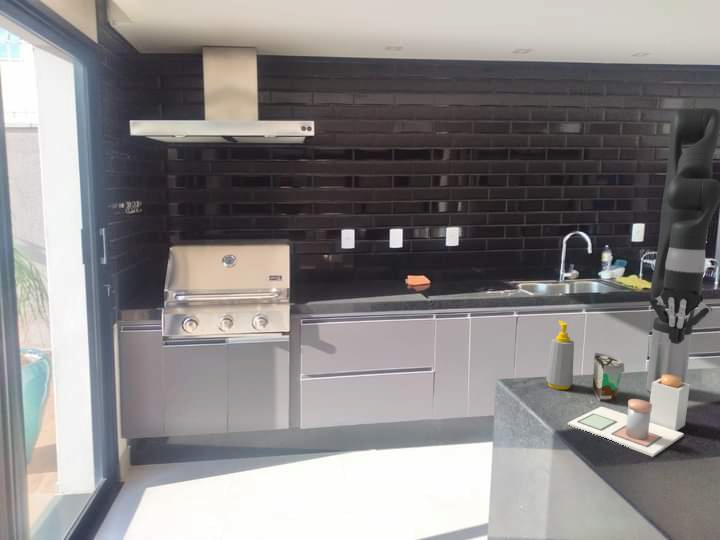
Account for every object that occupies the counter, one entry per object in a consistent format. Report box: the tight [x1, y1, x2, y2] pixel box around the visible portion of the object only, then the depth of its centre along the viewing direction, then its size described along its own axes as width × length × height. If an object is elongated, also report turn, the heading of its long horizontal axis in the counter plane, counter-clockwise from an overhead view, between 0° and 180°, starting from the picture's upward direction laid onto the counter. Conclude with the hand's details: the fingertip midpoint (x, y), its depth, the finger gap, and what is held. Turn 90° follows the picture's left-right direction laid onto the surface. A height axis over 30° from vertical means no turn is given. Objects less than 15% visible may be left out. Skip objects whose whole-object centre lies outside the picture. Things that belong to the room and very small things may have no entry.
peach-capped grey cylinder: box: [626, 398, 652, 440], centre depth 123 cm, size 5×5×8 cm
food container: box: [592, 352, 625, 403], centre depth 147 cm, size 12×6×10 cm, turn 168°
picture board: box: [567, 406, 684, 458], centre depth 127 cm, size 16×19×1 cm
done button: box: [661, 374, 681, 389], centre depth 130 cm, size 4×4×2 cm
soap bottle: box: [545, 320, 575, 391], centre depth 153 cm, size 7×7×18 cm
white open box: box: [649, 378, 691, 431], centre depth 130 cm, size 6×6×10 cm
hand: (675, 342), depth 128 cm, fingers closed
